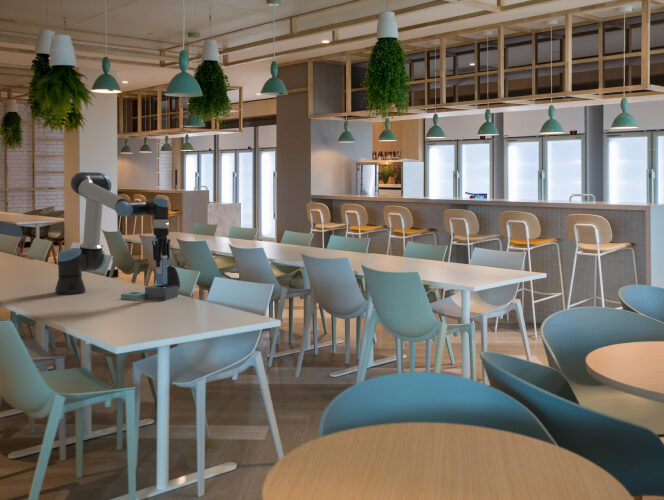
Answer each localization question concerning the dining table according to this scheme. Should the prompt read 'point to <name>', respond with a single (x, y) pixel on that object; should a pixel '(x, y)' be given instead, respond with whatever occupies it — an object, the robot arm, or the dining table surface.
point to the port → (161, 292)
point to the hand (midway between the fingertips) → (161, 272)
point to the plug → (162, 277)
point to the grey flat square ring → (133, 295)
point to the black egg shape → (172, 277)
